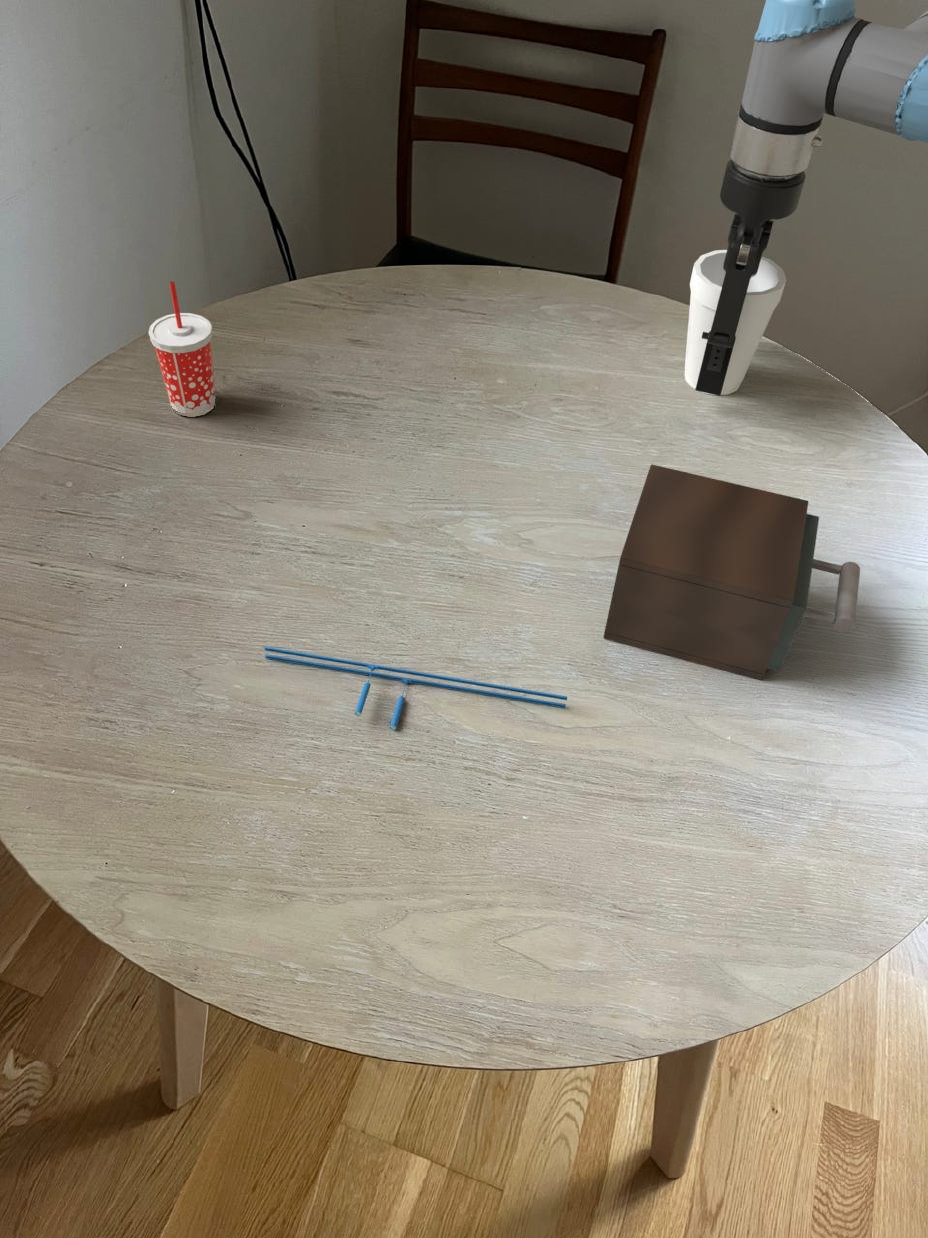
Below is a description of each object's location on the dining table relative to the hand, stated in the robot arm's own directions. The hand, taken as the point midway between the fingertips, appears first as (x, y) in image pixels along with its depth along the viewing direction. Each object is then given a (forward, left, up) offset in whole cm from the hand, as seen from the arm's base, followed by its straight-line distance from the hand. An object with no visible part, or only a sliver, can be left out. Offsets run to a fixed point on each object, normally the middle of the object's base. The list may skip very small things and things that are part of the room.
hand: (717, 360), depth 115 cm
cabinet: (-4, +37, -2) cm, 37 cm away
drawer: (-8, +36, -2) cm, 37 cm away
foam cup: (0, 0, -3) cm, 3 cm away
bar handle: (+16, +55, -3) cm, 58 cm away
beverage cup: (+51, +26, -3) cm, 57 cm away
